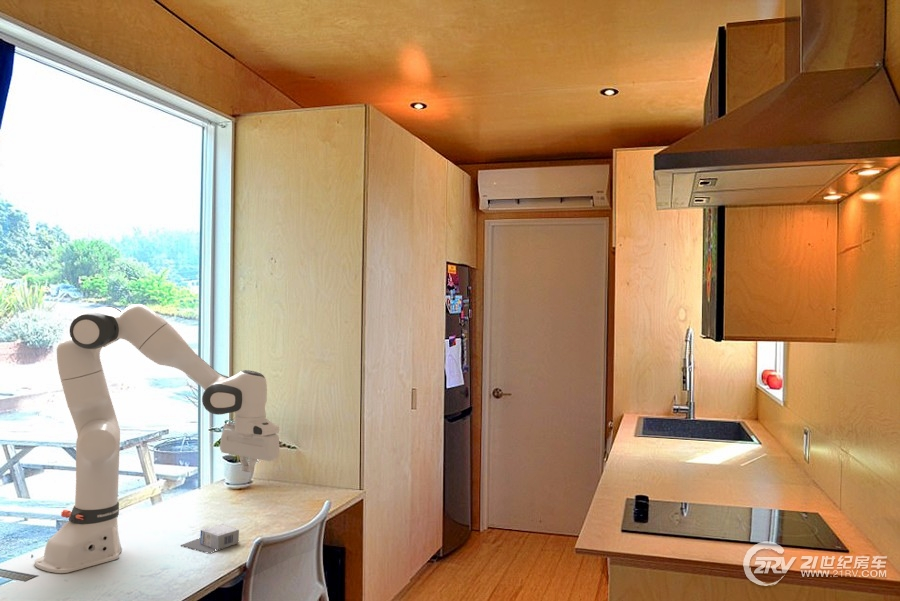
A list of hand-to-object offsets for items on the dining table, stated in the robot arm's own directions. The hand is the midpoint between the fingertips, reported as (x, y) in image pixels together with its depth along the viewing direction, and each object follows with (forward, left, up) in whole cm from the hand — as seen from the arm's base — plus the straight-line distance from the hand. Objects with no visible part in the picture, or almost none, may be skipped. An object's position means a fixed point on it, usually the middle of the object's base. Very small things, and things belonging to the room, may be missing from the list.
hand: (247, 471), depth 206 cm
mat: (0, +14, -24) cm, 28 cm away
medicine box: (+1, +7, -22) cm, 23 cm away
